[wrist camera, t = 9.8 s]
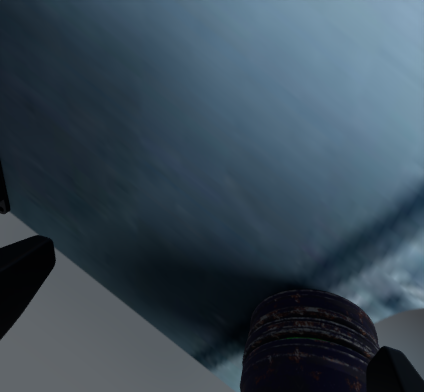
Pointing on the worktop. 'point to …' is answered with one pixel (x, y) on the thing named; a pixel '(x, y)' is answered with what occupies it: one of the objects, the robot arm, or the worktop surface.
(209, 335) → the worktop surface
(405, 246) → the worktop surface
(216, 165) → the worktop surface
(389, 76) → the worktop surface
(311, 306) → the dark purple barrel
